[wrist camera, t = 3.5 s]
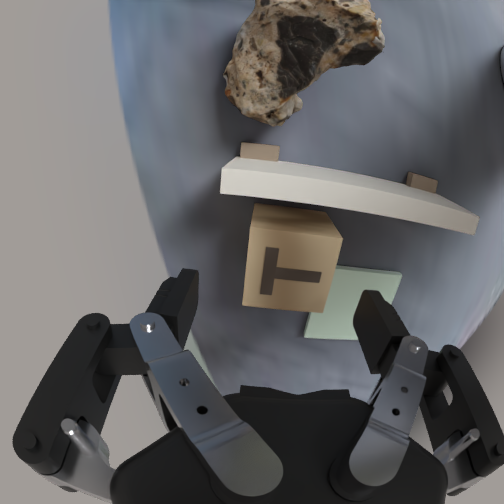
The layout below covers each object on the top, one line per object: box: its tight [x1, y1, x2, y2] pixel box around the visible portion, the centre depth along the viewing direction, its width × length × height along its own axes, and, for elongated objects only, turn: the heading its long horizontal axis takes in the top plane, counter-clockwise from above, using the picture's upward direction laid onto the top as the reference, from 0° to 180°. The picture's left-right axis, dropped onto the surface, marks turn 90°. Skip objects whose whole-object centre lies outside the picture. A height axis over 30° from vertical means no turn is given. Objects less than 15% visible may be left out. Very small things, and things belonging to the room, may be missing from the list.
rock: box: [223, 0, 385, 126], centre depth 12 cm, size 9×7×10 cm
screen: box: [220, 142, 480, 235], centre depth 15 cm, size 15×3×6 cm, turn 84°
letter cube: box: [242, 203, 343, 313], centre depth 18 cm, size 5×5×5 cm
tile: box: [304, 265, 402, 340], centre depth 21 cm, size 7×7×1 cm
